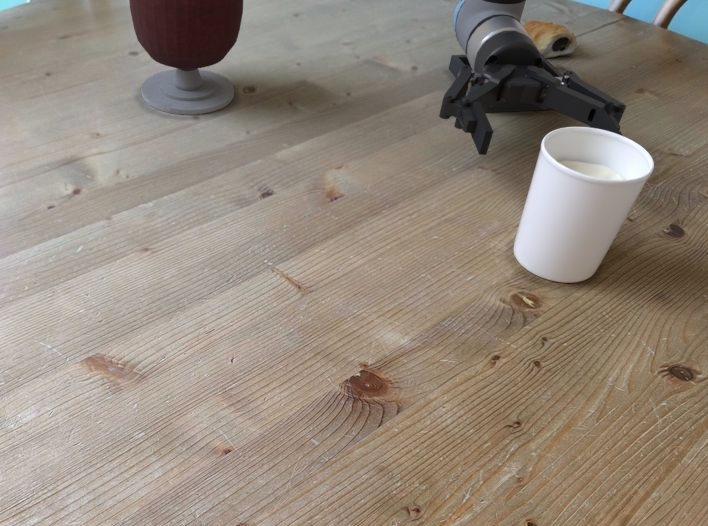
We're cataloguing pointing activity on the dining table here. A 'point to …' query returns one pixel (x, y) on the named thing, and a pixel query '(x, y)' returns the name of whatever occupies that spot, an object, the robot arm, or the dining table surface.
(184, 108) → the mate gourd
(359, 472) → the dining table surface
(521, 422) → the dining table surface
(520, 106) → the shallow tray
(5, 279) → the dining table surface
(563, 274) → the white cup
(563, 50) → the pastry
